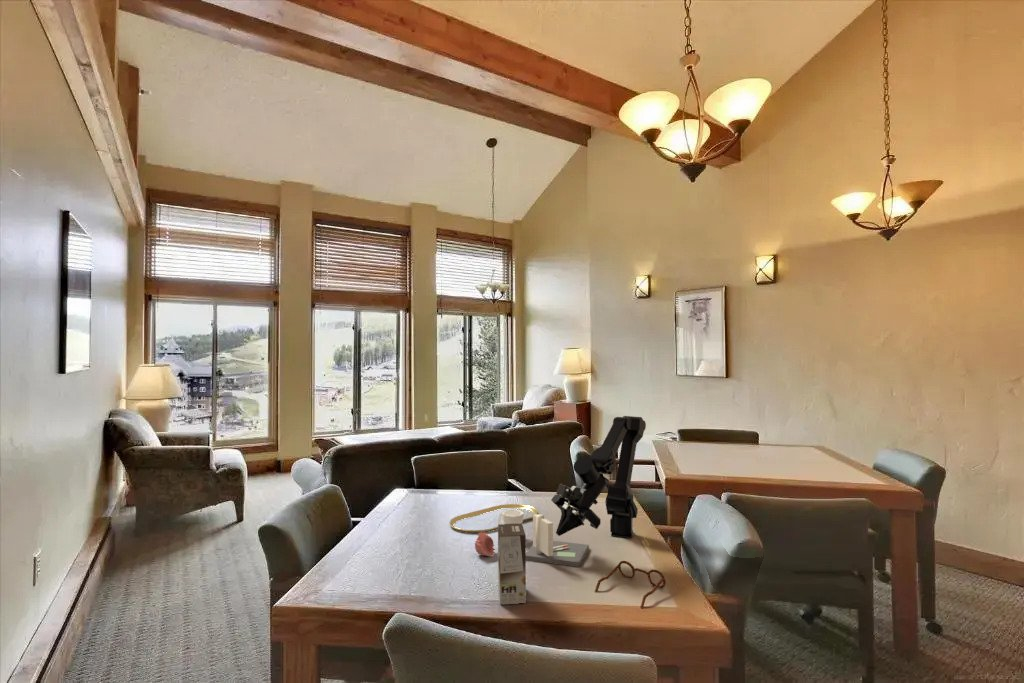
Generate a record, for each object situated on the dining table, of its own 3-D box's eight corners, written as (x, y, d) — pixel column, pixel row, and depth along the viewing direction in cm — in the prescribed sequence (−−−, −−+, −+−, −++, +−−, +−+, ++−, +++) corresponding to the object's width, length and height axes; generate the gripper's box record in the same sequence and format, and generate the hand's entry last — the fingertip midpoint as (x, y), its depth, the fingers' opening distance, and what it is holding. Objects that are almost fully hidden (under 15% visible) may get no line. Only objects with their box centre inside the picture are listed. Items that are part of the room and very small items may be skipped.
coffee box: (526, 604, 122) (526, 535, 122) (499, 605, 121) (499, 536, 122) (522, 586, 131) (522, 522, 131) (497, 587, 130) (497, 523, 131)
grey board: (588, 548, 156) (588, 544, 156) (579, 566, 143) (578, 562, 143) (537, 542, 161) (537, 538, 161) (523, 559, 148) (523, 554, 148)
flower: (465, 534, 152) (480, 525, 151) (481, 538, 158) (495, 529, 157) (472, 560, 147) (487, 551, 146) (488, 563, 153) (503, 555, 152)
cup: (512, 543, 160) (512, 517, 161) (491, 535, 168) (491, 510, 168) (528, 538, 165) (528, 512, 165) (507, 530, 173) (507, 506, 173)
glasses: (666, 591, 129) (666, 571, 129) (641, 611, 119) (641, 589, 119) (619, 576, 138) (619, 557, 138) (593, 593, 128) (593, 573, 128)
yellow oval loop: (548, 516, 189) (547, 511, 189) (471, 539, 166) (471, 534, 166) (513, 505, 203) (513, 501, 203) (439, 525, 180) (439, 520, 180)
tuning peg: (531, 549, 152) (531, 513, 152) (562, 543, 156) (561, 508, 157) (546, 560, 144) (546, 522, 144) (578, 553, 148) (578, 516, 149)
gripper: (556, 467, 159) (524, 508, 154) (591, 480, 142) (557, 527, 137) (578, 490, 162) (547, 531, 157) (614, 505, 145) (582, 552, 140)
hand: (557, 534), depth 148 cm, fingers closed
